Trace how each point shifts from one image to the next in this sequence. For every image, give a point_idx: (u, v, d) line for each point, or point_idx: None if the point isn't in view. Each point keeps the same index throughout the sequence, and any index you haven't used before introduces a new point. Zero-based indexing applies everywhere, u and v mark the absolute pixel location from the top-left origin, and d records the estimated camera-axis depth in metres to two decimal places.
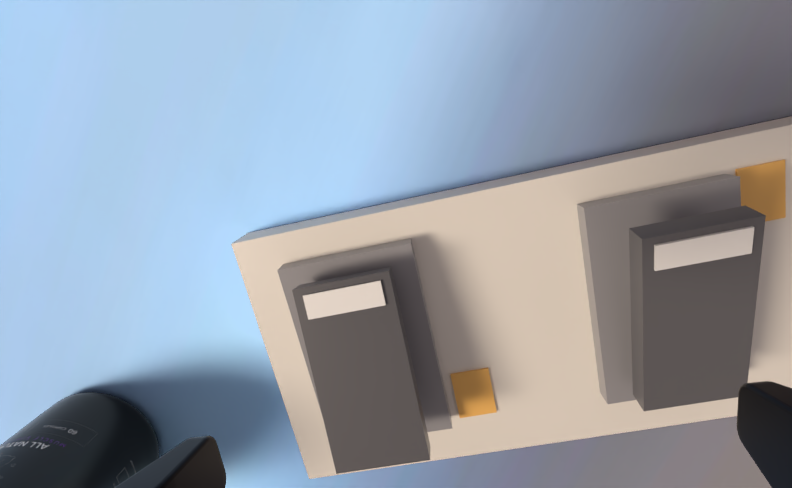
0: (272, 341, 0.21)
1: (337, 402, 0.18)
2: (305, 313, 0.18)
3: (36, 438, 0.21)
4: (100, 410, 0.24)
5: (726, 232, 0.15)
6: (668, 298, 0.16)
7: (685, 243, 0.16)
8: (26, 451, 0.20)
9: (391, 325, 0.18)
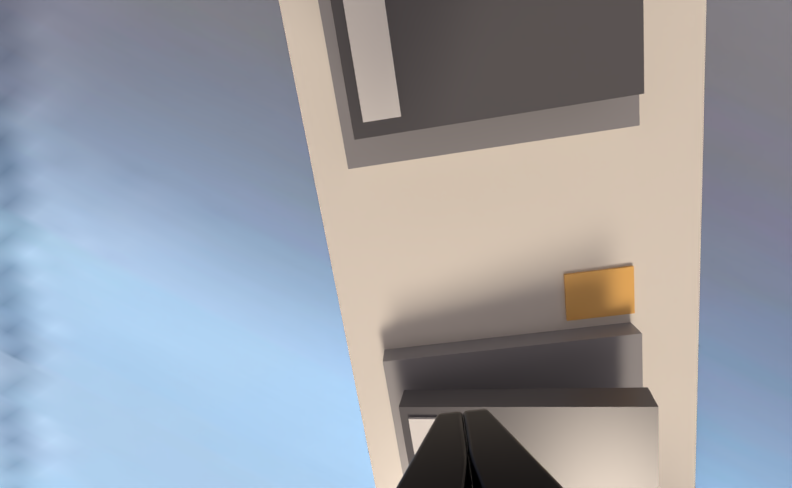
0: None
1: None
2: None
3: None
4: None
5: (347, 25, 0.11)
6: (447, 88, 0.12)
7: (363, 79, 0.11)
8: None
9: None
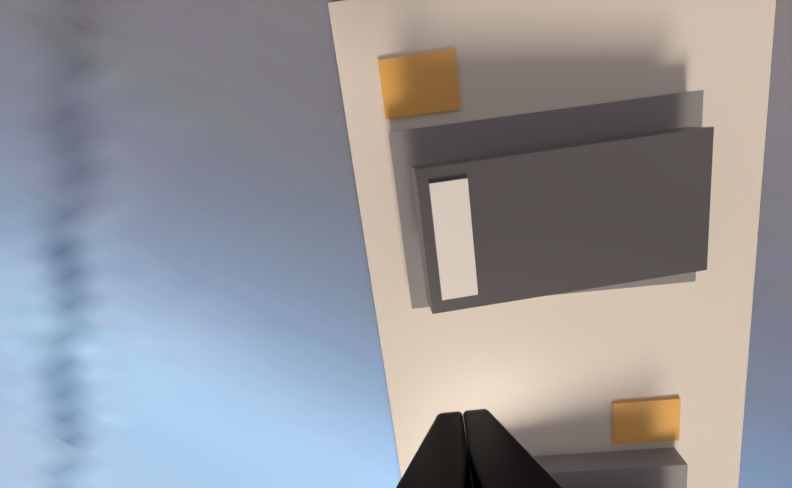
0: None
1: None
2: None
3: None
4: None
5: (433, 217, 0.12)
6: (522, 268, 0.12)
7: (444, 262, 0.12)
8: None
9: None
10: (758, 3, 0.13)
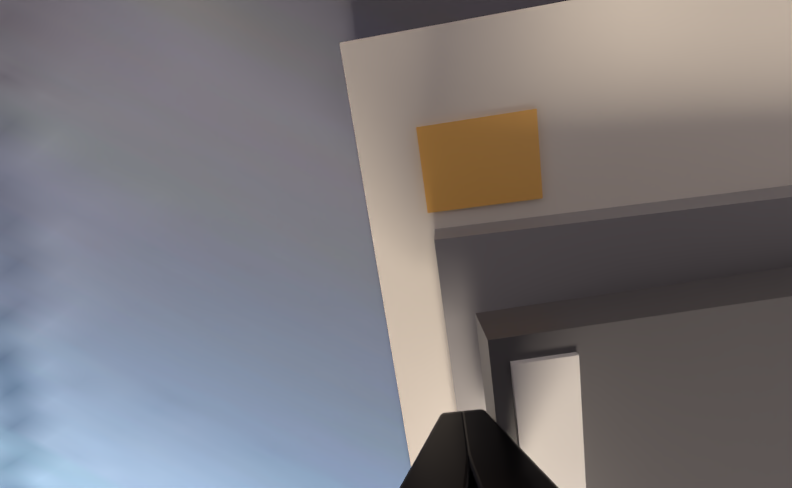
0: None
1: None
2: None
3: None
4: None
5: (516, 415, 0.07)
6: (663, 486, 0.07)
7: None
8: None
9: None
10: None
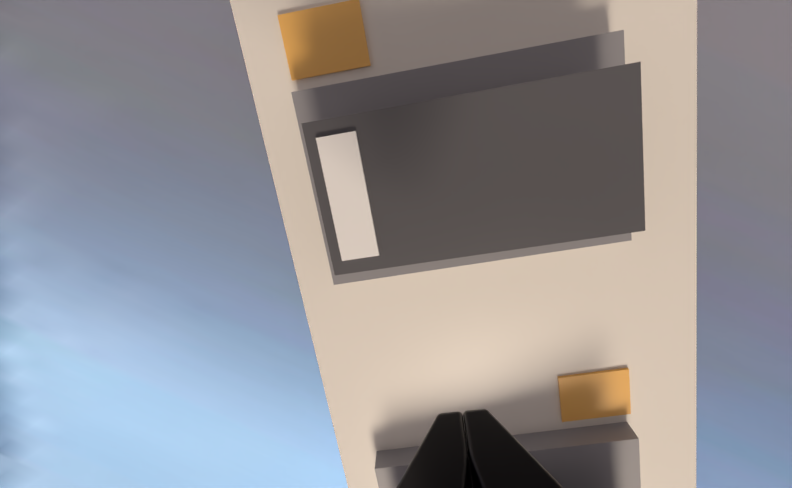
0: None
1: None
2: None
3: None
4: None
5: (323, 173, 0.11)
6: (426, 228, 0.12)
7: (341, 221, 0.12)
8: None
9: None
10: None
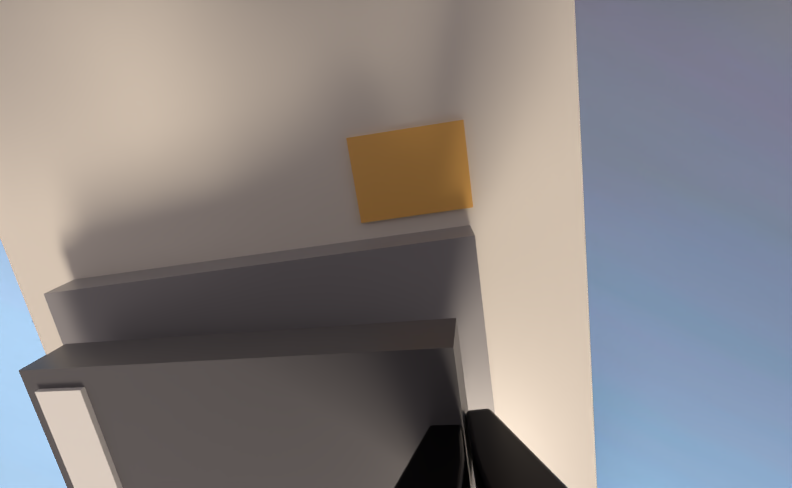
0: None
1: None
2: None
3: None
4: None
5: None
6: None
7: None
8: None
9: (124, 383, 0.08)
10: None
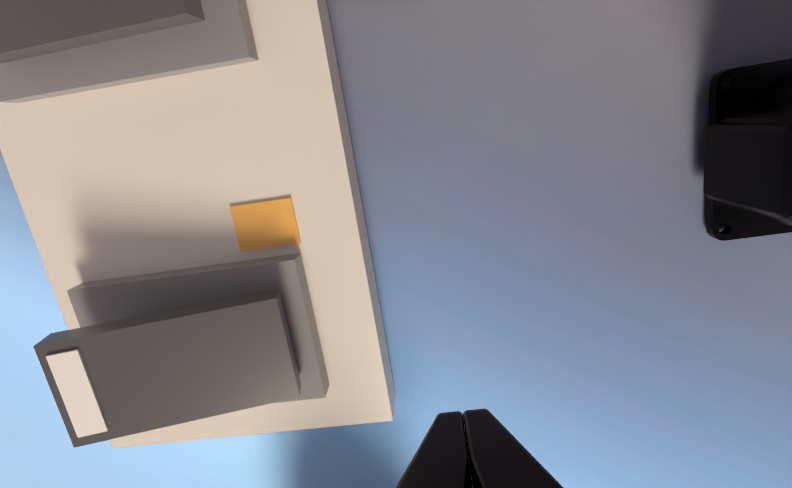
0: (214, 430, 0.20)
1: (211, 397, 0.16)
2: (101, 432, 0.16)
3: None
4: None
5: None
6: (9, 15, 0.13)
7: None
8: None
9: (105, 342, 0.15)
10: None
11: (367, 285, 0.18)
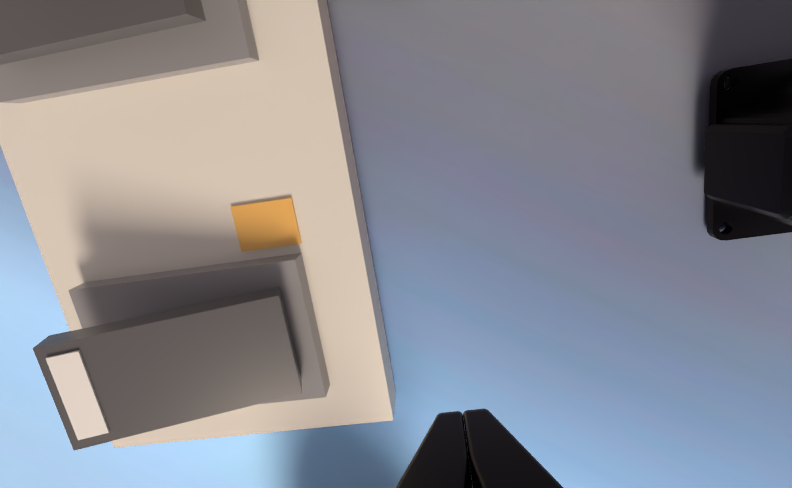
0: (215, 430, 0.20)
1: (213, 396, 0.16)
2: (102, 434, 0.16)
3: None
4: None
5: None
6: (11, 16, 0.13)
7: None
8: None
9: (106, 343, 0.15)
10: None
11: (368, 285, 0.18)
